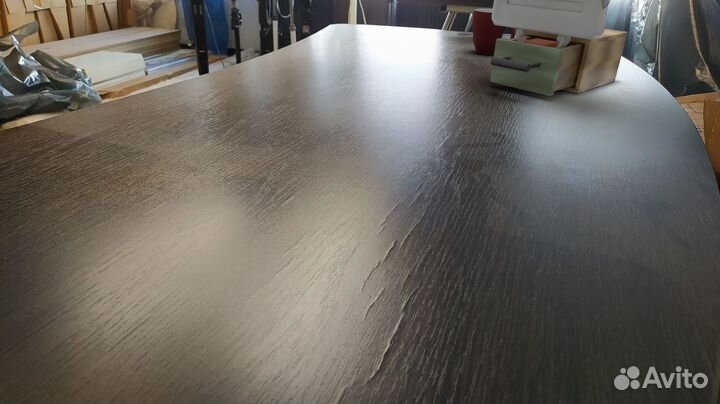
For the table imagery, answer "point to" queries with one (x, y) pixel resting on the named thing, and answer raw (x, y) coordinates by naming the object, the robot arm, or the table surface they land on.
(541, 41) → the block
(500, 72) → the drawer
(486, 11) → the mug
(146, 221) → the table surface
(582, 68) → the cabinet
